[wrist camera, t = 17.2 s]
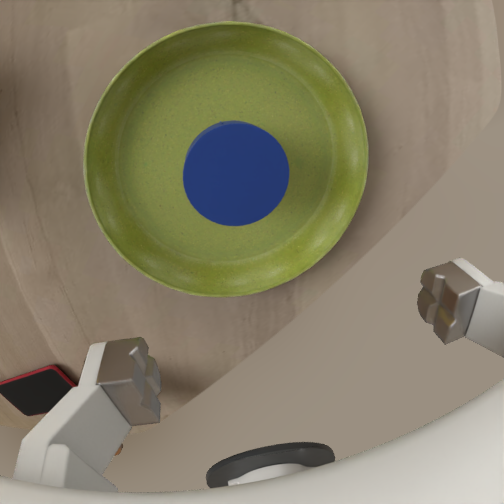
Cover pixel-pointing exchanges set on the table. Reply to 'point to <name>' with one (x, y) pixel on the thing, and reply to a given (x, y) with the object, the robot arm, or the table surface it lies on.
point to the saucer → (198, 119)
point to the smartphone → (37, 390)
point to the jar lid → (235, 173)
